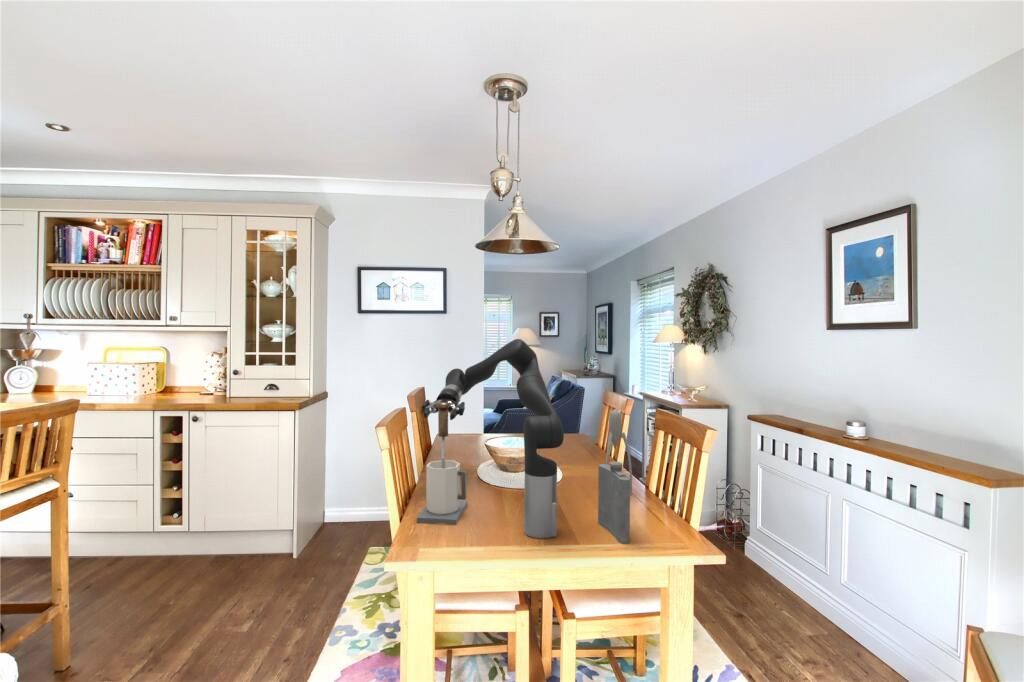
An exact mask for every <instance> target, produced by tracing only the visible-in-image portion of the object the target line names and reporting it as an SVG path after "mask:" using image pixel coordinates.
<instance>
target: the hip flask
mask: <svg viewBox="0 0 1024 682" xmlns="http://www.w3.org/2000/svg"><path fill="white" fill-rule="evenodd" d="M622 467H623V462H622V461H621V462H620V461H609V464H608V465H607V464H606V463H601V464H598V477H597V478H598V479H597V480H598V485H597V486H598V490H597V491H598V493H597V505H598V506H597V524H598V526H599V525H600V526H601V527H603V528H604V529H605V530H607V532H609V533H610V534H611V535H612V536H613V537H614V538H615V539H616V541H617V543H619V544H622V545H628V544H629V543H630V540H631V539H630V538H631V537H630V535H631V534H630V533H631V529H630V528H631V526H630V525H631V496H630V476H629V475H628V474H626V473H625V472H624V471H623V468H622Z"/></svg>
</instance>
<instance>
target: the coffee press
mask: <svg viewBox="0 0 1024 682" xmlns="http://www.w3.org/2000/svg"><path fill="white" fill-rule="evenodd" d="M425 471H426V472H425V473H426V476H425V477H426V481H425V482H426V485H425V486H426V491H425V492H426V505H425V507H424V508H423V509H422V510H421V512H420V513H419V514H418V515H417V517H416V523H417V522H427V523H426V524H433V523H446V524H445V525H452V524H456V523H457V524H458V522H459V521H460V519H461V517H462V516H463V514H462V513H465V510H466V509H467V508H468V500H467V492H468V491H467V487H468V486H467V485H468V484H467V482H468V481H467V470H461V464H460V462H457V461H455V460H448V459H445V469H442V459H440V460H434V461H433V460H432V461H430V462H428V464H426V470H425ZM460 479H461V481H460ZM460 482H461V483H460ZM460 484H461V488H460ZM460 491H461V493H460ZM465 508H466V509H465ZM461 515H462V516H461ZM459 518H460V519H459ZM458 520H459V521H458ZM457 524H456V525H457Z"/></svg>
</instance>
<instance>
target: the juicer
mask: <svg viewBox="0 0 1024 682" xmlns="http://www.w3.org/2000/svg"><path fill="white" fill-rule="evenodd" d="M608 417H609V418H608V426H609V432H608V437H607V445H606V455H605V457H606V458H605V464H607V465H609V464H610V453H611V446H613V448H614V450H616V448H617V446H618V443H619V439H622V440H623V442H624V445H625V449H626V453H627V459H628V460H627V461H628V469H629V470H628V471H629V478H630V497H633V471H632V468H633V467H632V460H631V452H630V448H629V447H630V446H629V443H628V438H627V436H626V433H625V432H624V431H623V432H622V433H621V430H622V414H621V412H620V411H619V410H618V409H616V408H614V409H612V410H611V412H610V413H609V416H608Z"/></svg>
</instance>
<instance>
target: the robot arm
mask: <svg viewBox="0 0 1024 682" xmlns="http://www.w3.org/2000/svg"><path fill="white" fill-rule="evenodd" d="M505 361H506V362H507V363H508V364H509V365H510V366H511V367H512V368H514V369H515V370H516V372H518V374H519V377H518V379H517V381H516V390H517V391H516V393H517V396H518V399H519V401H520V403H521V405H523V406H524V407H525V408H526V410H529V411H530V413H533V414H534V415H530V416H527V417H526V418H525V420H524V422H523V445H524V449H523V450H524V490H523V491H524V499H523V500H524V503H523V504H524V506H523V507H524V509H523V510H524V512H523V513H524V516H523V518H524V520H523V526H524V527H523V529H524V530H523V532H524V534H525V535H526V536H528V537H531V538H536V539H547V538H548V539H549V538H553V537H554V538H555V537H556V538H557V535H558V532H557V531H558V496H557V495H558V464H557V462H556V461H554V460H553V459H551V458H547V457H545V456H542V455H540V454H539V453H538V452H537V450H542V449H543V450H544V449H556V448H557V449H558V448H559V447H561V446H562V444H563V442H564V438H565V435H564V428H563V424H562V421H561V419H560V417H559V415H558V413H557V411H556V409H555V407H554V405H553V403H552V401H551V398H550V396H549V393H548V389H547V385H546V383H545V381H544V378H543V376H542V373H541V371H540V366H539V361H538V356H537V354H536V352H535V351H534V350H533V349H532V347H531V346H529V345H528V344H527V343H526V342H525V341H524V340H522V339H521V338H516V339H513V340H511V341H509V342H507V344H505V345H503V346H501V348H499V349H498V350H496V351H495V352H493V353H492V354H491V355H489V356H488V357H486V358H484V359H483V360H481V361H479V362H478V363H475V364H473V365H471V366H469V367H467V368H466V369H465V370H464V371H463V370H462V369H461V368H453V369H451V370H450V371H449V372H448V373H447V375H446V377H445V386H444V387H443V388H442V389H441V391H440V393H439V394H438V396H437V397H436V400H434V401H432V402H431V401H430V399H426V400H425V401H424V402H423V403H422V404H421V406H420V407H421V414H423V415H422V416H423V417H424V419H428V417H429V416H430V415H431V414H438V408H437V407H436V403H437V402H450V407H449V408H448V414H449V419H450V421H453V420H455V418H456V417H457V416H458V415H459V416H463V415H464V413H465V409H466V406H465V402H464V401H462V402H461V399H462V396H464V395H466V394H468V392H470V390H471V389H472V388H474V387H475V386H476V385H478V384H481V383H482V382H485V381H486V380H489V379H490V378H491V377H492V376H493V375H494V373H495V371H496V369H497V366H498V365H499V364H500V363H502V362H505Z"/></svg>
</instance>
